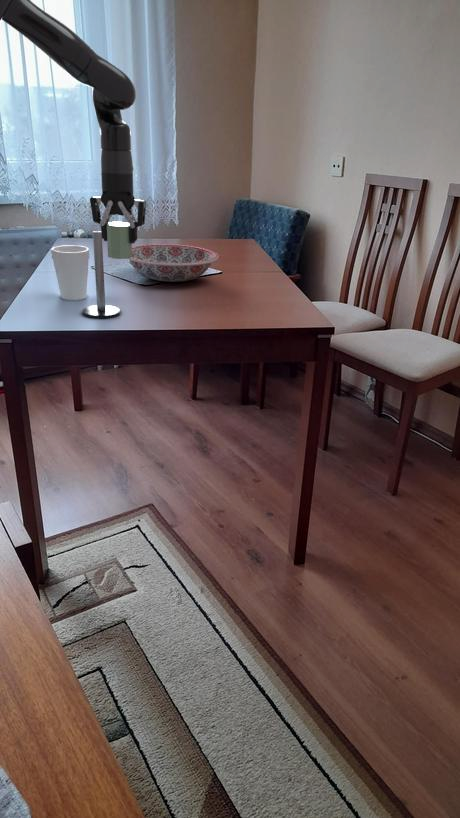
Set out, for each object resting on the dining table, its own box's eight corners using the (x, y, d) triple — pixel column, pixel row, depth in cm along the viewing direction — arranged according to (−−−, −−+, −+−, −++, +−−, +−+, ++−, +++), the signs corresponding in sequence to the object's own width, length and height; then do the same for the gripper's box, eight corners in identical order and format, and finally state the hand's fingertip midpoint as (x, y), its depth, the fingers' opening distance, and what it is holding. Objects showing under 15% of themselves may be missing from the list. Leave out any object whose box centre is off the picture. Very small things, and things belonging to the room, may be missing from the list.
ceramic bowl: (227, 291, 163) (228, 264, 159) (127, 292, 156) (126, 264, 152) (206, 268, 188) (207, 244, 184) (119, 268, 181) (118, 243, 177)
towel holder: (112, 322, 133) (108, 236, 124) (77, 318, 134) (70, 233, 125) (125, 311, 141) (122, 230, 132) (91, 307, 142) (86, 227, 133)
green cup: (127, 259, 139) (127, 226, 136) (104, 257, 140) (102, 224, 136) (135, 255, 145) (134, 223, 141) (112, 252, 145) (111, 221, 142)
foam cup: (79, 305, 143) (75, 254, 137) (48, 300, 146) (43, 250, 140) (98, 296, 151) (95, 247, 145) (69, 291, 154) (65, 243, 148)
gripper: (82, 169, 131) (86, 242, 138) (141, 173, 129) (142, 247, 136) (94, 167, 137) (98, 237, 145) (150, 171, 135) (151, 241, 143)
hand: (119, 241), depth 141 cm, fingers closed on green cup, 6 cm apart
